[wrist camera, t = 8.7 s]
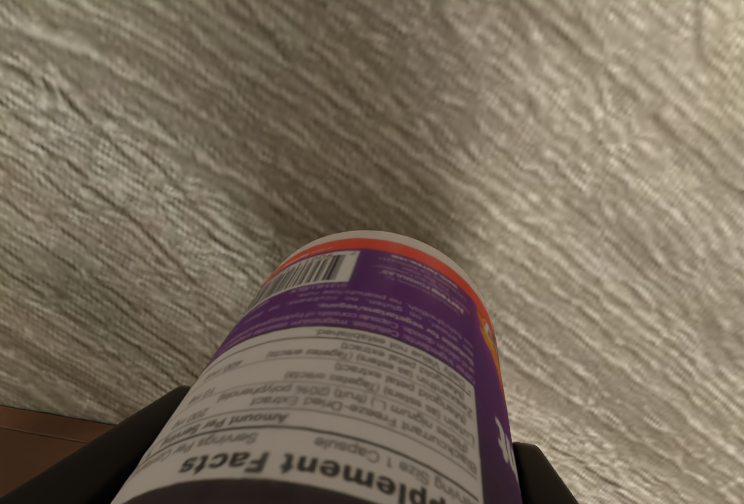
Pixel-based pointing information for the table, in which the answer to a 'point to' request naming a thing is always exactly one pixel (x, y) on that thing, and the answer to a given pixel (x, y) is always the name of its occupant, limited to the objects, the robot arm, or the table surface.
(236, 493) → the pill bottle
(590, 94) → the table surface
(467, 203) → the table surface
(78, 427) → the cabinet
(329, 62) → the table surface
